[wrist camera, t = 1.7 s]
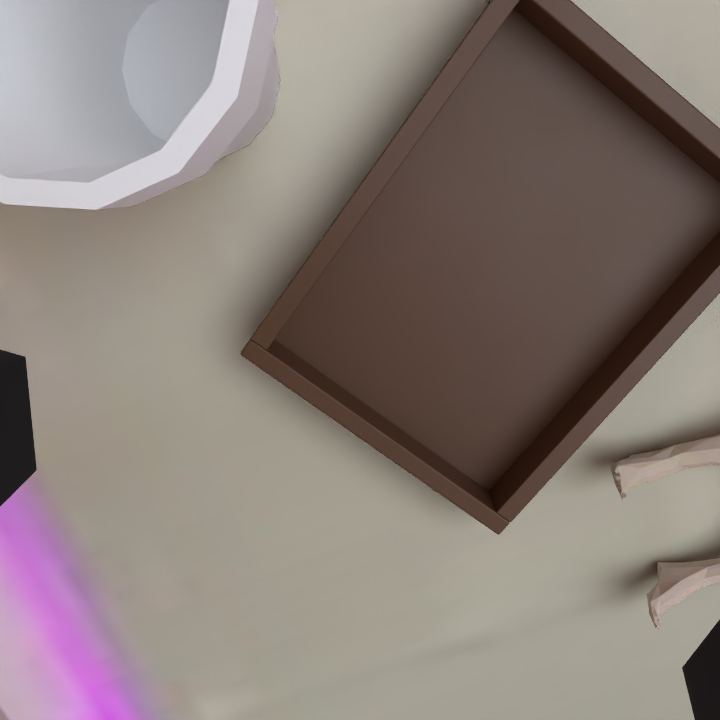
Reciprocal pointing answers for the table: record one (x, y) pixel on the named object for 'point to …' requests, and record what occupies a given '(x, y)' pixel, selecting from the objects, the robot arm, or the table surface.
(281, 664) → the table surface
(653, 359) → the tray
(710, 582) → the anime figure
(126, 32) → the foam cup
